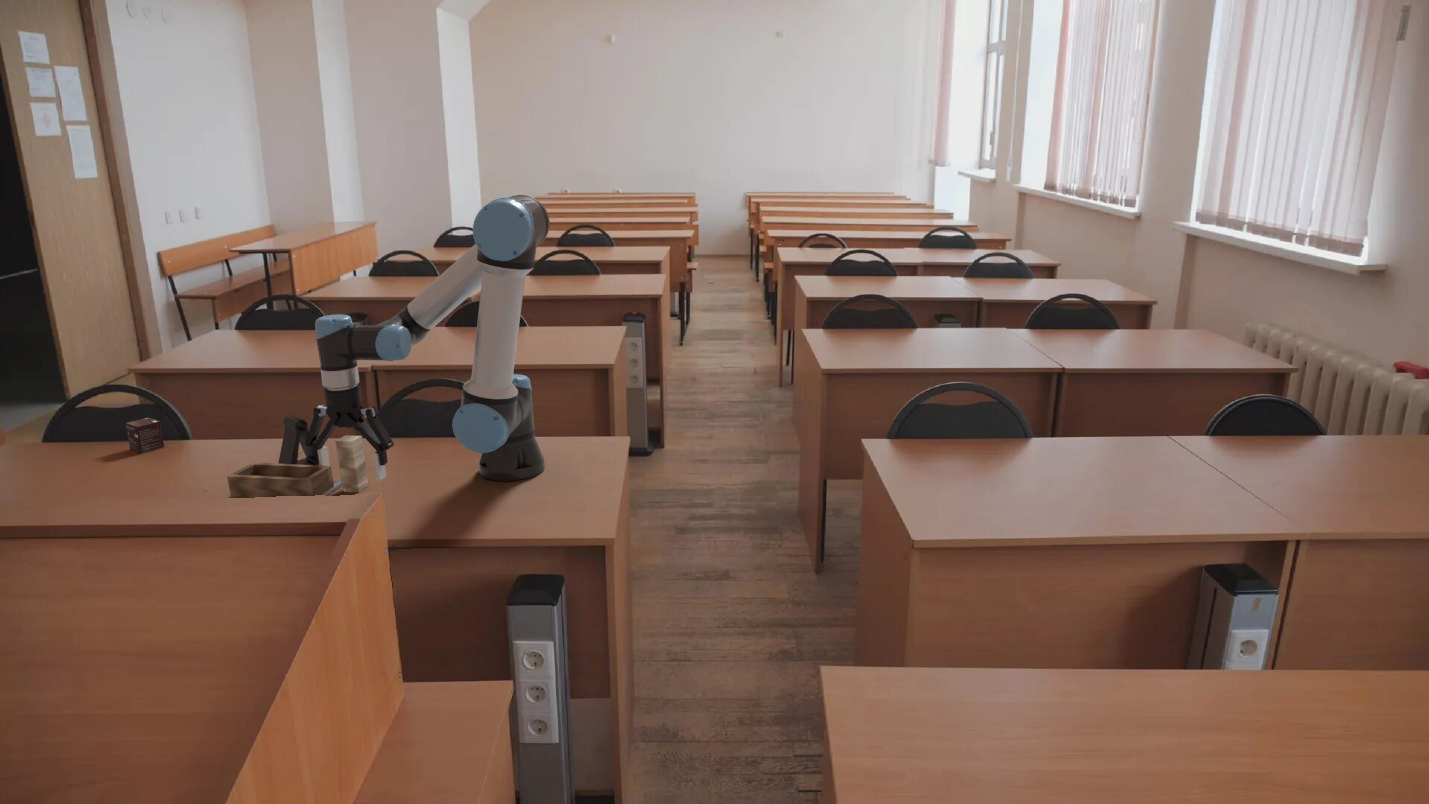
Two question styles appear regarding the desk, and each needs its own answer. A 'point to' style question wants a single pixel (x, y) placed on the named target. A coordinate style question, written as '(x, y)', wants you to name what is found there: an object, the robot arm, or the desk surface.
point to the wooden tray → (281, 480)
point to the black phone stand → (296, 443)
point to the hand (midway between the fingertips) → (353, 477)
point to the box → (144, 435)
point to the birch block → (352, 463)
